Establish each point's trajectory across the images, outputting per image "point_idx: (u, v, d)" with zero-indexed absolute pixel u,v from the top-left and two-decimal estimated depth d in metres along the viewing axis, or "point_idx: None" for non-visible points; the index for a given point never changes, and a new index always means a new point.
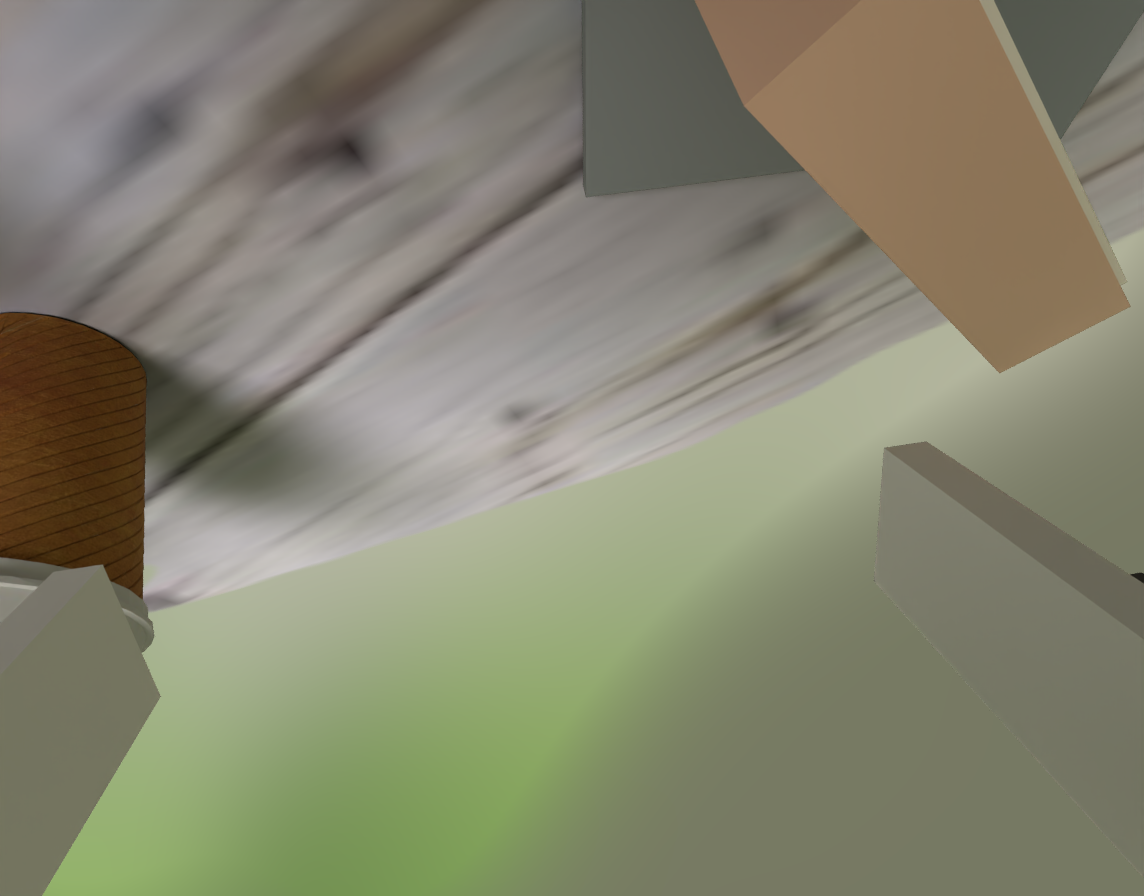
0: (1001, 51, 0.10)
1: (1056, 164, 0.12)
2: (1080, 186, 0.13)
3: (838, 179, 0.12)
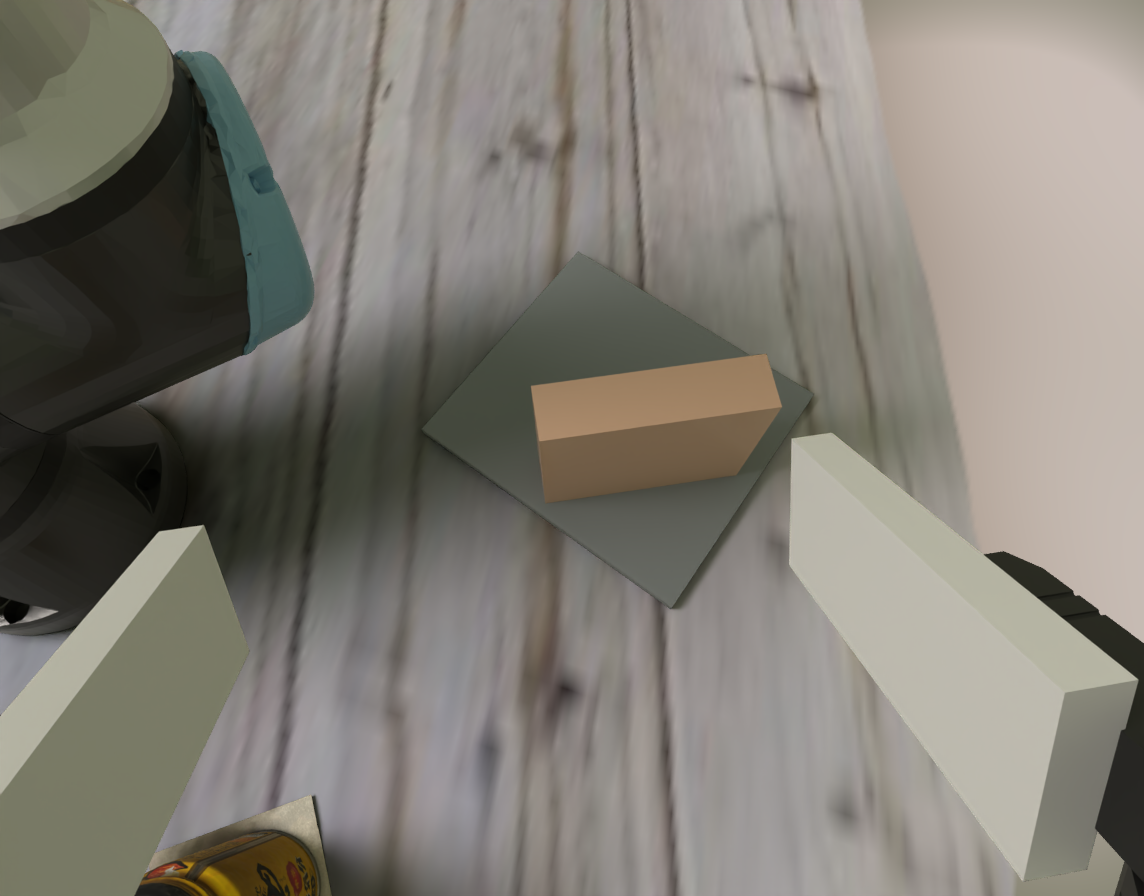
0: (579, 379, 0.35)
1: (641, 371, 0.35)
2: None
3: (589, 429, 0.34)
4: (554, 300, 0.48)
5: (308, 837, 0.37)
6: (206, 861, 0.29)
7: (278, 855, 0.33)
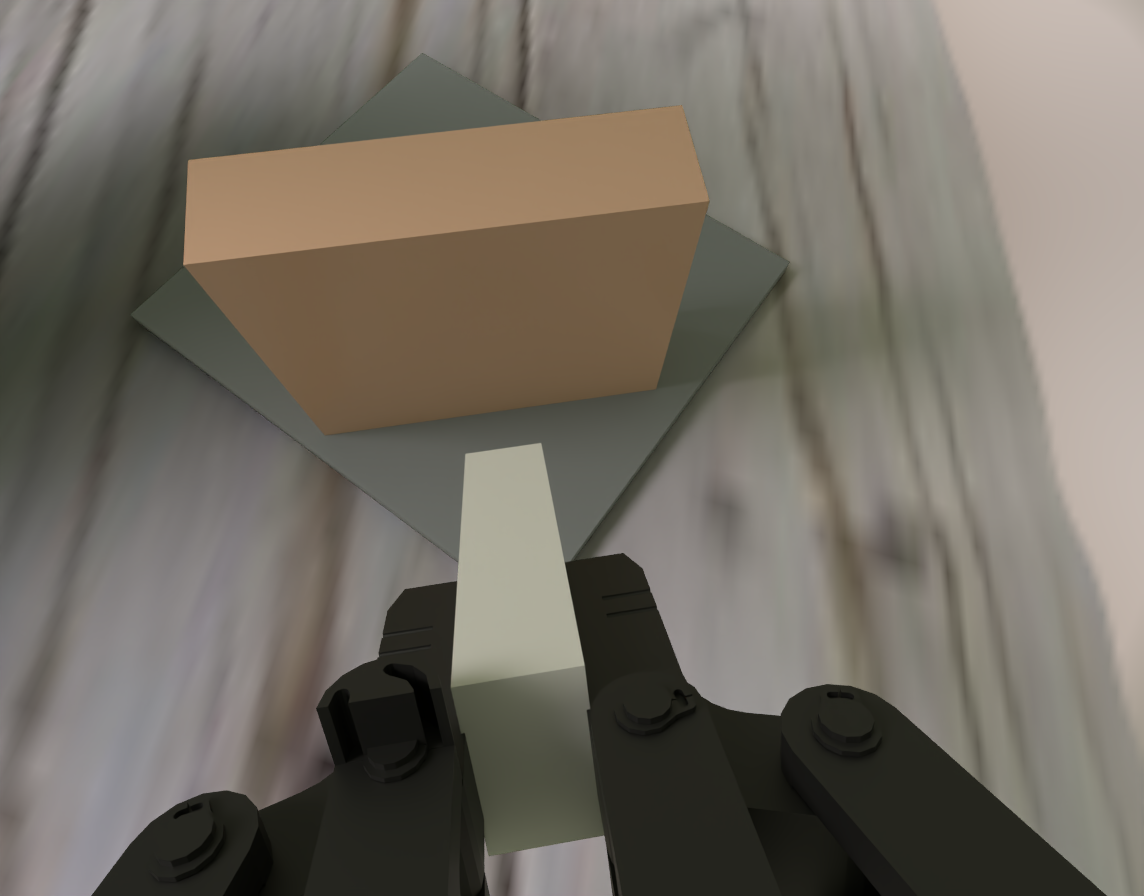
0: (292, 149, 0.17)
1: (422, 135, 0.17)
2: None
3: (297, 241, 0.16)
4: (376, 121, 0.30)
5: None
6: None
7: None
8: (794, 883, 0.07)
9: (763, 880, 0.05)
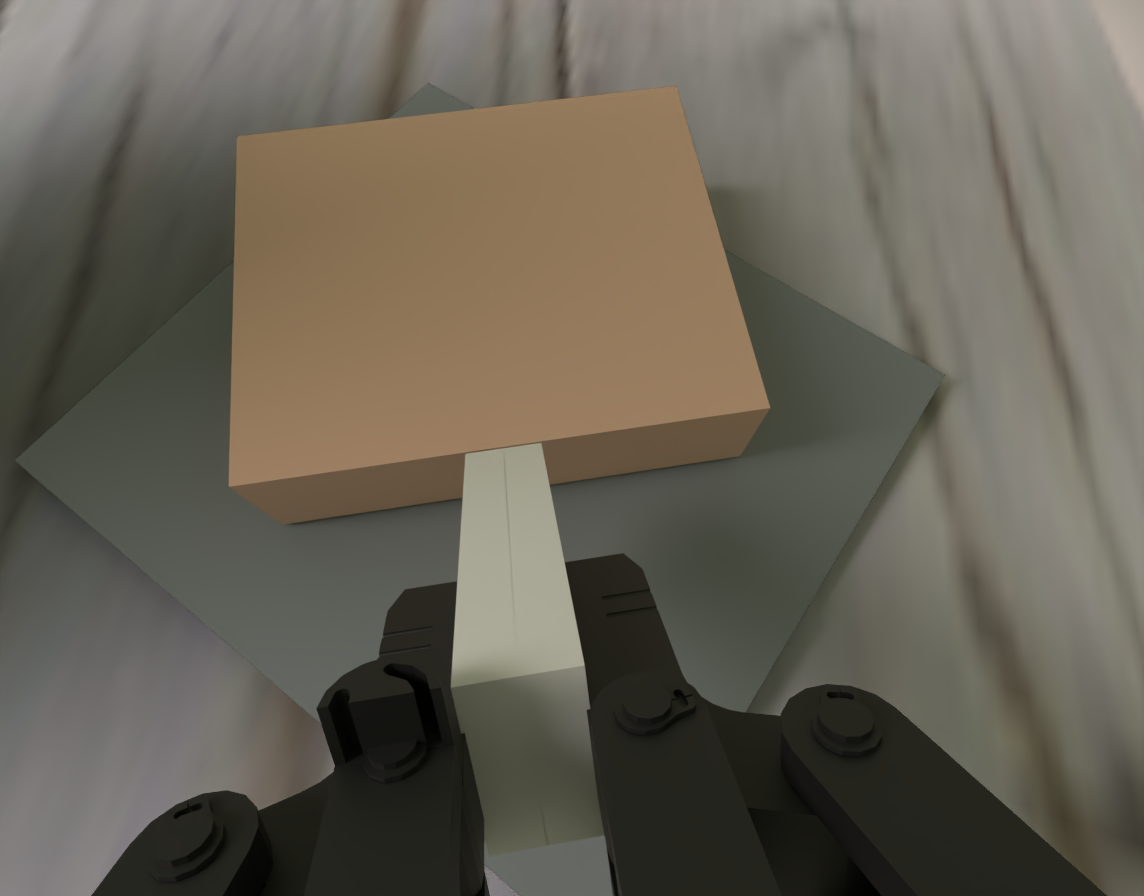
0: None
1: None
2: None
3: (334, 133, 0.19)
4: None
5: None
6: None
7: None
8: (795, 884, 0.07)
9: (763, 880, 0.05)
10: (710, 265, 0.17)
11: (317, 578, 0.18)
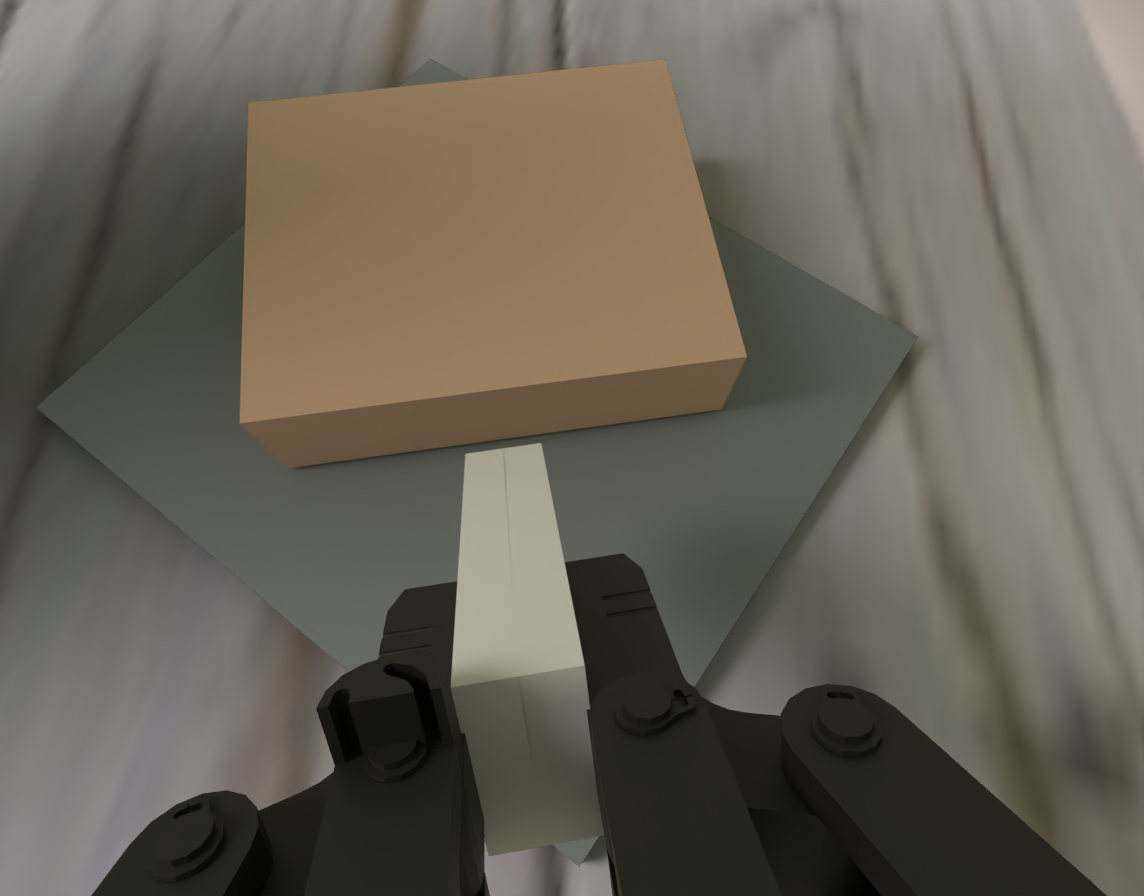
0: None
1: None
2: None
3: (340, 100, 0.20)
4: None
5: None
6: None
7: None
8: (795, 884, 0.07)
9: (763, 880, 0.05)
10: (693, 225, 0.18)
11: (321, 518, 0.19)
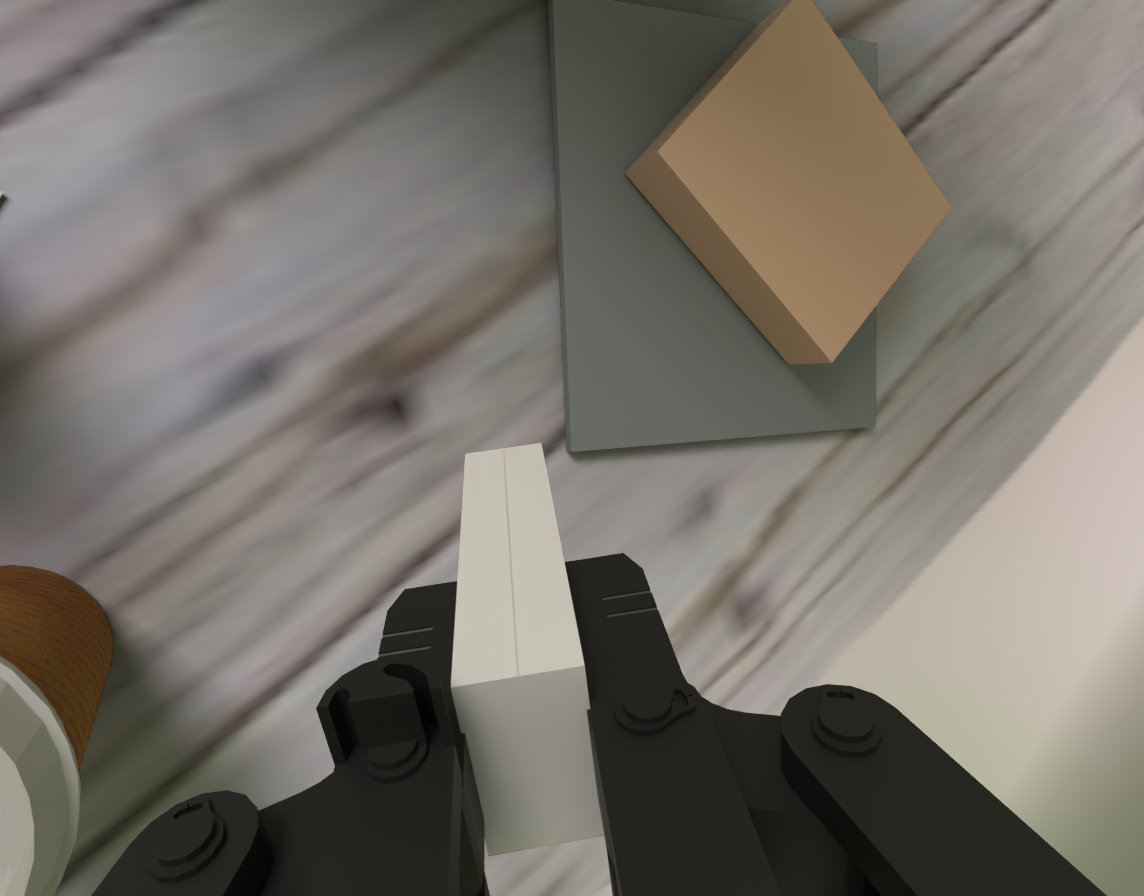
0: None
1: None
2: None
3: (833, 40, 0.30)
4: None
5: None
6: None
7: None
8: (795, 884, 0.07)
9: (763, 880, 0.05)
10: (876, 291, 0.32)
11: (614, 212, 0.30)
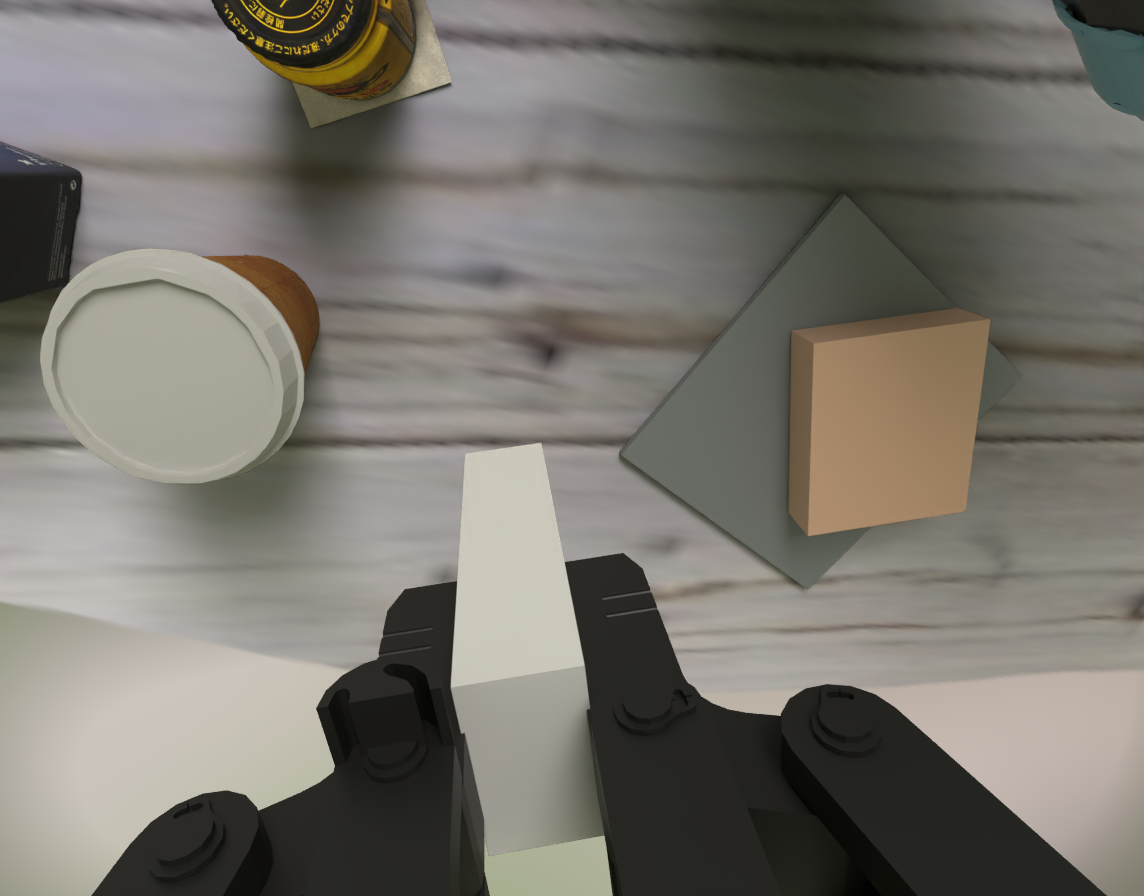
0: None
1: None
2: None
3: (981, 361, 0.40)
4: None
5: (410, 81, 0.34)
6: (392, 21, 0.26)
7: (395, 70, 0.31)
8: (794, 884, 0.07)
9: (763, 880, 0.05)
10: (871, 519, 0.43)
11: (765, 347, 0.41)
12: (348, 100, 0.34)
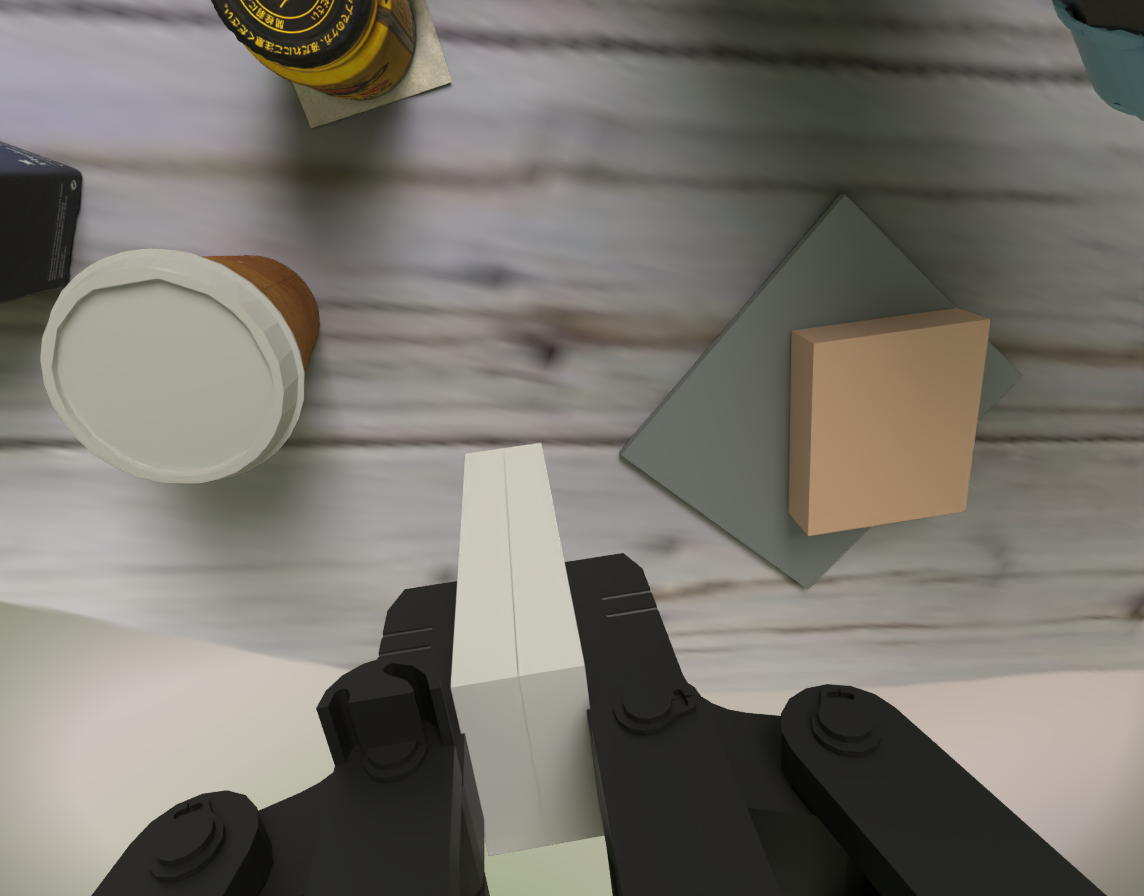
0: None
1: None
2: None
3: (981, 361, 0.40)
4: None
5: (410, 81, 0.34)
6: (392, 20, 0.26)
7: (395, 70, 0.31)
8: (795, 884, 0.07)
9: (763, 880, 0.05)
10: (871, 519, 0.43)
11: (765, 347, 0.41)
12: (348, 100, 0.34)
